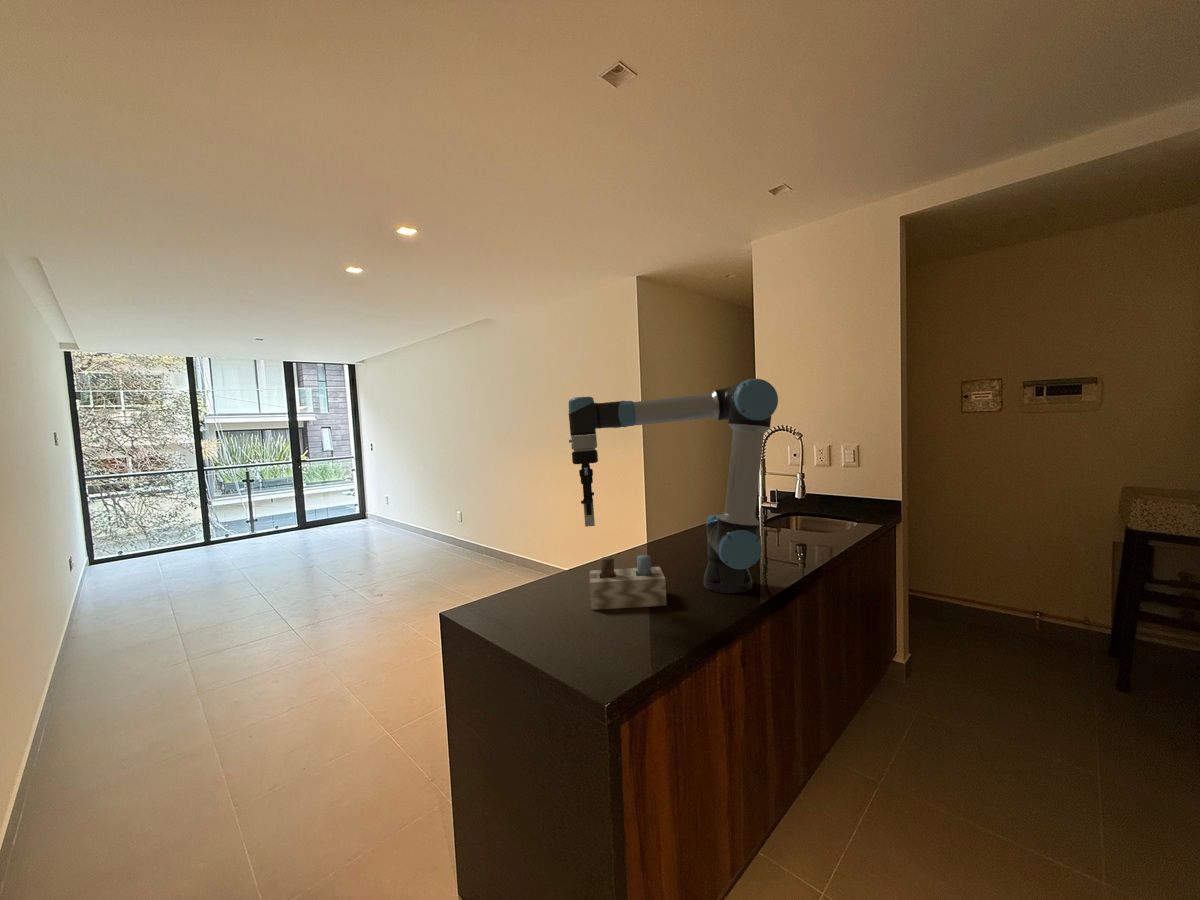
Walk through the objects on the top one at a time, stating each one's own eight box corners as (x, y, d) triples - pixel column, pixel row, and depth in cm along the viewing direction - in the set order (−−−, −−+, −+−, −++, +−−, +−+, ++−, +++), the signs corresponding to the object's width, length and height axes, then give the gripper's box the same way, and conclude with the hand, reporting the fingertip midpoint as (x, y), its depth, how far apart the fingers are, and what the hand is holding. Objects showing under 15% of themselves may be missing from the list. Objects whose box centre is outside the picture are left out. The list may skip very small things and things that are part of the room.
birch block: (660, 591, 150) (659, 566, 150) (666, 605, 138) (665, 578, 138) (591, 595, 150) (589, 570, 150) (591, 609, 138) (589, 582, 138)
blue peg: (650, 580, 146) (649, 554, 146) (652, 584, 142) (650, 558, 142) (637, 581, 146) (636, 555, 146) (638, 585, 142) (637, 559, 142)
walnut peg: (614, 582, 146) (613, 556, 145) (615, 586, 142) (613, 559, 141) (601, 583, 146) (600, 557, 145) (601, 587, 142) (600, 560, 141)
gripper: (572, 449, 152) (577, 515, 153) (570, 452, 127) (576, 531, 128) (596, 447, 152) (600, 513, 153) (598, 450, 127) (604, 529, 128)
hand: (589, 521), depth 140 cm, fingers open, 13 cm apart
